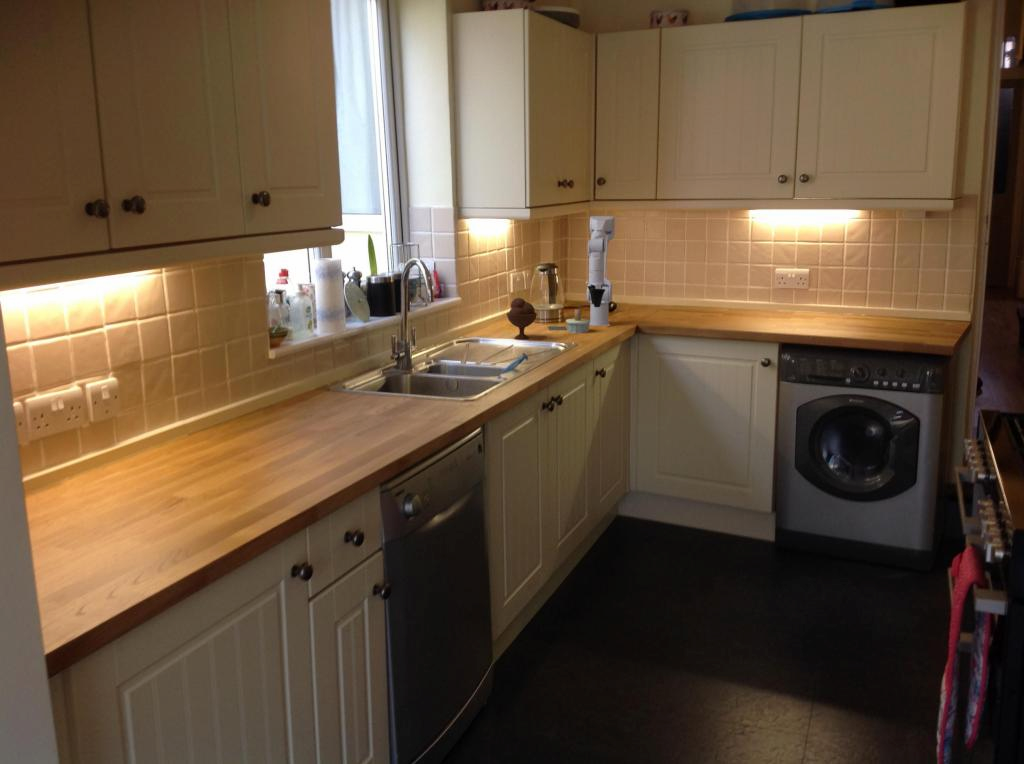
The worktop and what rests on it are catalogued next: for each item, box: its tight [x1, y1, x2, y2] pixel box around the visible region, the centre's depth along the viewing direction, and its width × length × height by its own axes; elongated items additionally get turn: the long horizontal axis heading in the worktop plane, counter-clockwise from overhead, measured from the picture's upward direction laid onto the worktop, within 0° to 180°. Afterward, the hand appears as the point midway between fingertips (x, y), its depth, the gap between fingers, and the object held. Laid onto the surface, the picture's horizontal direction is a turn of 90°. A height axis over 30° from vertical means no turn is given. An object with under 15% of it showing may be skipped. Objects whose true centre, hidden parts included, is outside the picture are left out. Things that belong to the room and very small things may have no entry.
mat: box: [547, 325, 568, 331], centre depth 376 cm, size 9×7×1 cm
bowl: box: [567, 323, 590, 334], centre depth 368 cm, size 8×8×4 cm
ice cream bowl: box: [506, 297, 538, 341], centre depth 355 cm, size 11×11×15 cm
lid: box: [565, 308, 590, 324], centre depth 367 cm, size 9×9×5 cm
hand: (596, 305), depth 370 cm, fingers open, 7 cm apart
